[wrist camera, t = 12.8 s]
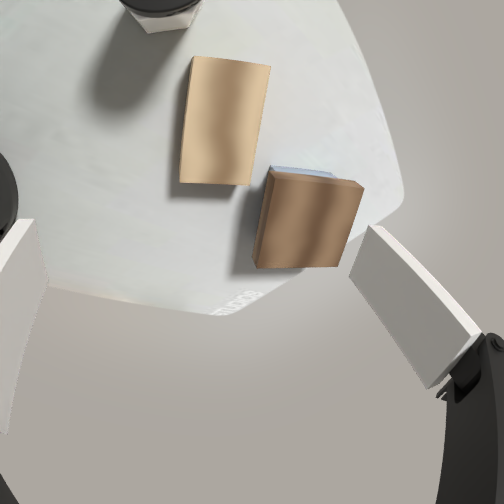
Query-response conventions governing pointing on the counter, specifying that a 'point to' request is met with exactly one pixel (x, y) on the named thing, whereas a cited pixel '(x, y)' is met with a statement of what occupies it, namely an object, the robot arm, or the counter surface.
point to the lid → (305, 220)
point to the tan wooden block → (222, 120)
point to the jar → (163, 13)
